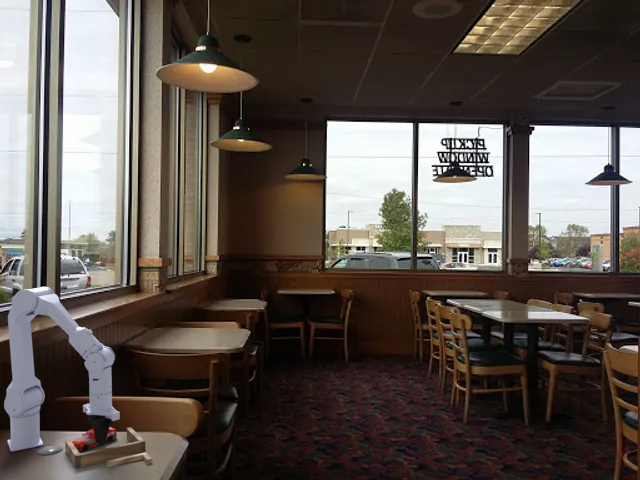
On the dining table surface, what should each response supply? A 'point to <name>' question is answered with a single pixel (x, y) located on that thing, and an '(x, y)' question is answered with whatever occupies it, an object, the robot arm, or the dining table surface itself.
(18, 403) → the robot arm
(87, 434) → the race car
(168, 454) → the dining table surface
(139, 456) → the oak crook stick
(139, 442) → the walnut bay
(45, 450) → the slate coaster
